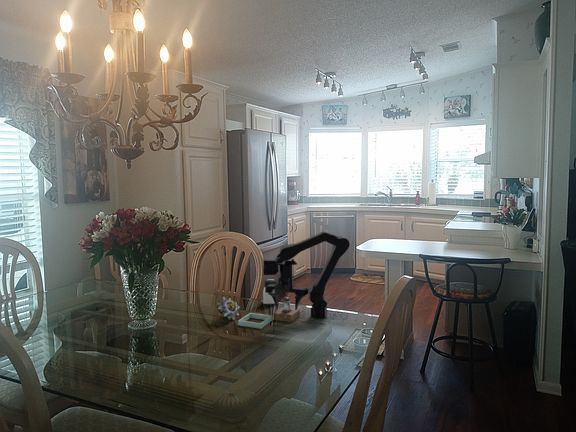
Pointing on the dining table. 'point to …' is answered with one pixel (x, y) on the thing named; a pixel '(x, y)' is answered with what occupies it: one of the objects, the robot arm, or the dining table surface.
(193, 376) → the dining table surface
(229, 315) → the passion flower
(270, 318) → the mint green square frame
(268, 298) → the medicine bottle
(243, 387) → the dining table surface
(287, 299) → the metal pin
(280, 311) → the holder block
